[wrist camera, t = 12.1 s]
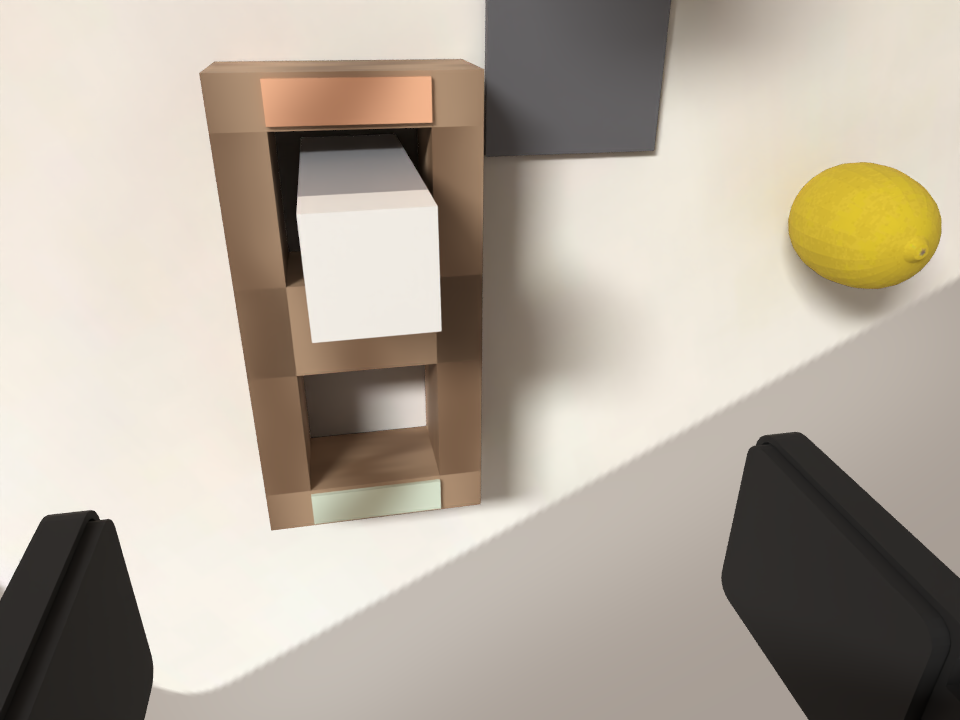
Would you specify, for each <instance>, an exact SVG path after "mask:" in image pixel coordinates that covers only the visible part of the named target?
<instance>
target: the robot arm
mask: <svg viewBox="0 0 960 720" xmlns="http://www.w3.org/2000/svg"><path fill="white" fill-rule="evenodd" d="M721 578H722V585H723V590H724V592H725V595H726V596H727V599H728V600H729V602H730V603H731V604H732V606H733V607H734V609H735V611H736V612H737V614H738V615H739V617H740V618H741V619H742V621H743V623H744V624H745V625H746V627H747V628H748V630H749V631H750V633H751V634H752V636H753V637H754V639H755V640H756V642H757V643H758V645H759V646H760V648H761V649H762V651H763V652H764V654H765V655H766V657H767V658H768V660H769V661H770V663H771V664H772V666H773V667H774V669H775V670H776V672H777V673H778V675H779V676H780V678H781V679H782V681H783V682H784V684H785V685H786V687H787V688H788V690H789V691H790V693H791V694H792V696H793V697H794V699H795V700H796V702H797V703H798V705H799V706H800V708H801V709H802V711H803V712H804V713H805V715H806V716H807V718H808V719H809V720H960V578H959V577H958V576H956V575H955V574H954V573H953V572H952V571H951V570H950V569H949V568H948V567H947V566H946V565H945V564H944V563H943V562H941V561H940V560H939V559H938V558H937V557H936V556H935V555H934V554H933V553H932V552H931V551H929V550H928V549H927V548H926V547H925V546H924V545H923V544H922V543H921V542H920V541H919V540H918V539H916V538H915V537H914V536H913V535H912V534H911V533H910V532H909V531H908V530H907V529H906V528H905V527H904V526H902V525H901V524H900V523H899V522H898V521H897V520H896V519H895V518H894V517H893V516H892V515H891V514H889V513H888V512H887V511H886V510H885V509H884V508H883V507H882V506H881V505H880V504H879V503H877V502H876V501H875V500H874V499H873V498H872V497H871V496H870V495H869V494H868V493H867V492H866V491H865V490H863V489H862V488H861V487H860V486H859V485H858V484H857V483H856V482H855V481H854V480H853V479H852V478H850V477H849V476H848V475H847V474H846V473H845V472H844V471H843V470H842V469H841V468H839V466H837V465H836V464H835V463H834V462H833V461H832V460H831V459H830V458H829V457H828V456H827V455H826V454H824V453H823V452H822V451H821V450H820V449H819V448H818V447H817V446H815V444H814V443H813V442H811V441H810V440H809V439H808V438H807V437H806V436H805V435H803V434H802V433H799V432H791V433H783V434H772V435H765V436H762V437H760V439H759V440H758V441H757V444H756V446H753V447H751V448H750V449H749V451H748V454H747V458H746V463H745V467H744V472H743V476H742V481H741V486H740V491H739V495H738V500H737V504H736V509H735V514H734V518H733V523H732V528H731V532H730V537H729V542H728V546H727V551H726V556H725V560H724V565H723V570H722V577H721ZM152 683H153V661H152V656H151V652H150V649H149V645H148V642H147V638H146V635H145V631H144V627H143V624H142V620H141V617H140V613H139V610H138V606H137V603H136V599H135V596H134V592H133V588H132V585H131V581H130V578H129V574H128V571H127V567H126V564H125V560H124V557H123V553H122V550H121V546H120V542H119V539H118V535H117V532H116V528H115V526H114V523H113V522H112V520H110V519H106V520H100V519H99V516H98V515H97V513H96V512H95V511H92V510H89V511H80V512H71V513H62V514H53V515H47V516H45V517H44V518H43V519H42V521H41V522H40V524H39V526H38V528H37V530H36V532H35V534H34V536H33V537H32V539H31V541H30V543H29V545H28V547H27V549H26V551H25V553H24V555H23V557H22V559H21V561H20V563H19V565H18V567H17V569H16V571H15V573H14V575H13V577H12V579H11V580H10V582H9V584H8V586H7V588H6V590H5V592H4V594H3V596H2V598H1V600H0V720H144V718H145V714H146V710H147V705H148V701H149V697H150V693H151V688H152Z"/></svg>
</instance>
